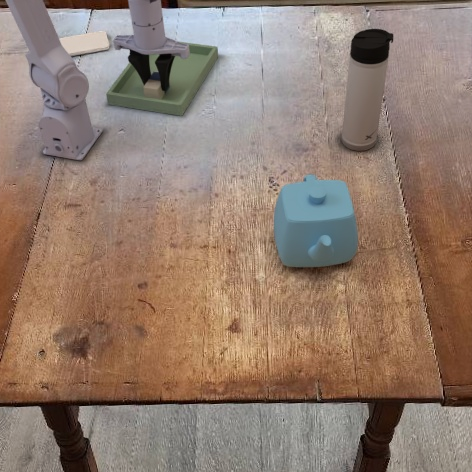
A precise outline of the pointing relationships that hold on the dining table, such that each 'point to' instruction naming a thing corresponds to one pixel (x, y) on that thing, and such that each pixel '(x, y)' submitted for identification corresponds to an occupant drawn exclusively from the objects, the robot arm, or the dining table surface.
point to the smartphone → (85, 43)
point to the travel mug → (365, 88)
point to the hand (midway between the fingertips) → (157, 86)
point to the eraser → (154, 87)
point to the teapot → (315, 223)
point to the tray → (181, 82)
